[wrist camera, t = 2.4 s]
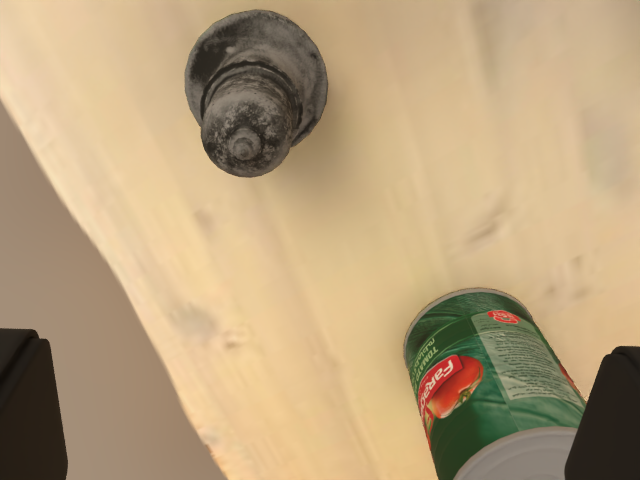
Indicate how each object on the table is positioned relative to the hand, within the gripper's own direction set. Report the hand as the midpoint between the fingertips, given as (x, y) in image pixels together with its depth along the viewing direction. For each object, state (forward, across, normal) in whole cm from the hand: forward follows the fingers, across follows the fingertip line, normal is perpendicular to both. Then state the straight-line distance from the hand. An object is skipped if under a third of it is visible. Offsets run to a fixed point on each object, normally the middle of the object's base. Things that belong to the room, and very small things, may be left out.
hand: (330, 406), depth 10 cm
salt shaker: (+21, +2, -2) cm, 21 cm away
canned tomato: (+21, -11, +14) cm, 27 cm away
